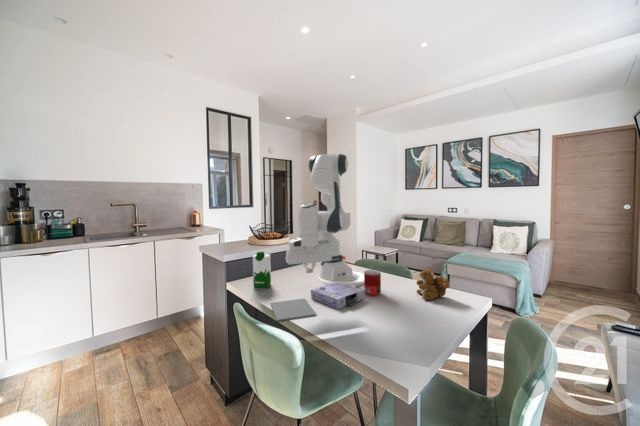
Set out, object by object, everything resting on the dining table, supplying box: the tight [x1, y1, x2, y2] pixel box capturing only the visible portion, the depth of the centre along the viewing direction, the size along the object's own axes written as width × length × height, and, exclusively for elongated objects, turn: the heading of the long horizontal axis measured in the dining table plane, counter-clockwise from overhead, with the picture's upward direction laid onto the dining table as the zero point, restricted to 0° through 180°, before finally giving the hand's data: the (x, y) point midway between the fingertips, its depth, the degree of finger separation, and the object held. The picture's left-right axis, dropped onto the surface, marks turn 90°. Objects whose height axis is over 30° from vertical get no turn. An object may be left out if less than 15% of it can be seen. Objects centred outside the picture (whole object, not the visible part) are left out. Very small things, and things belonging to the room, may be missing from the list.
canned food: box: [363, 269, 382, 297], centre depth 133 cm, size 8×8×11 cm
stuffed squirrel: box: [416, 268, 450, 300], centre depth 127 cm, size 10×14×13 cm
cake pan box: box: [310, 283, 365, 310], centre depth 125 cm, size 19×5×18 cm
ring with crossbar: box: [318, 270, 364, 288], centre depth 156 cm, size 28×28×5 cm
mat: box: [270, 298, 317, 322], centre depth 114 cm, size 16×19×1 cm
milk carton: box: [252, 251, 272, 289], centre depth 144 cm, size 9×9×20 cm
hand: (309, 272), depth 116 cm, fingers closed
